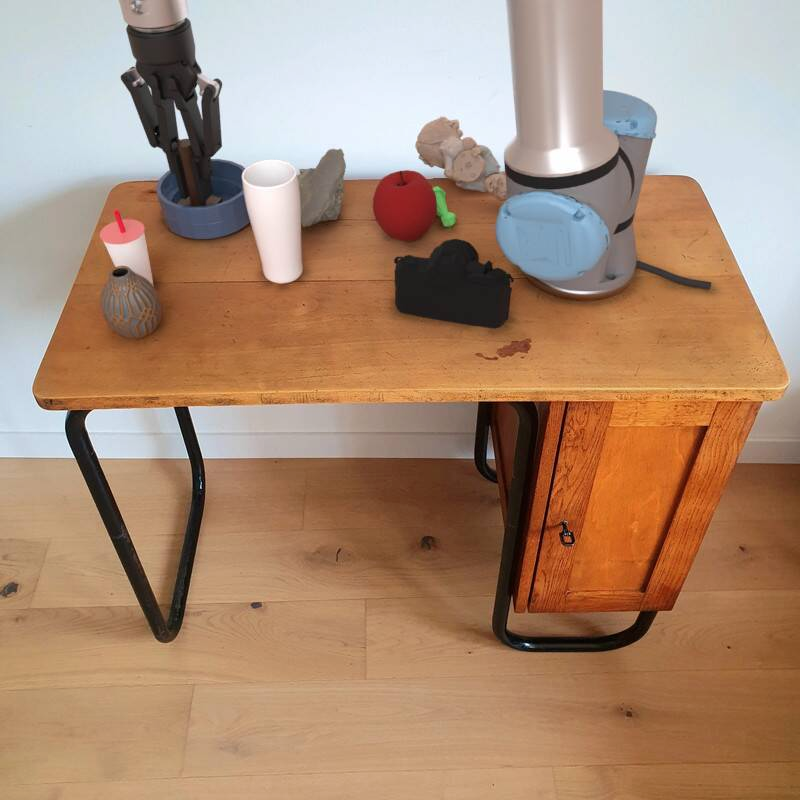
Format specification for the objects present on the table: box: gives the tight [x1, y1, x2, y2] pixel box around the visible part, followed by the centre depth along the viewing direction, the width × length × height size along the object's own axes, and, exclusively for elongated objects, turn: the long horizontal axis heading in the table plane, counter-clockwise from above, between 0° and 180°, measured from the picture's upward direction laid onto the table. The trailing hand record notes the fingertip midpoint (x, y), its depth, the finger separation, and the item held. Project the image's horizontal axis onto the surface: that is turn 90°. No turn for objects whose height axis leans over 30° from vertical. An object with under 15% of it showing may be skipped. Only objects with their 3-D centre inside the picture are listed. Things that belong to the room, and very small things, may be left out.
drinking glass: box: [242, 159, 304, 285], centre depth 99 cm, size 7×7×15 cm
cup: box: [99, 209, 154, 286], centre depth 98 cm, size 5×5×12 cm
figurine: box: [415, 116, 507, 202], centre depth 116 cm, size 9×8×20 cm
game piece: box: [432, 186, 458, 228], centre depth 111 cm, size 4×4×6 cm
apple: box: [372, 169, 437, 242], centre depth 106 cm, size 9×9×10 cm
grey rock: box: [297, 148, 347, 228], centre depth 111 cm, size 14×10×10 cm
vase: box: [100, 266, 163, 339], centre depth 94 cm, size 7×7×9 cm
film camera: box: [393, 238, 515, 329], centre depth 97 cm, size 15×10×9 cm, turn 74°
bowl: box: [155, 158, 250, 240], centre depth 112 cm, size 13×13×6 cm
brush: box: [177, 138, 222, 207], centre depth 107 cm, size 5×4×12 cm
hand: (197, 195), depth 109 cm, fingers closed on brush, 2 cm apart
